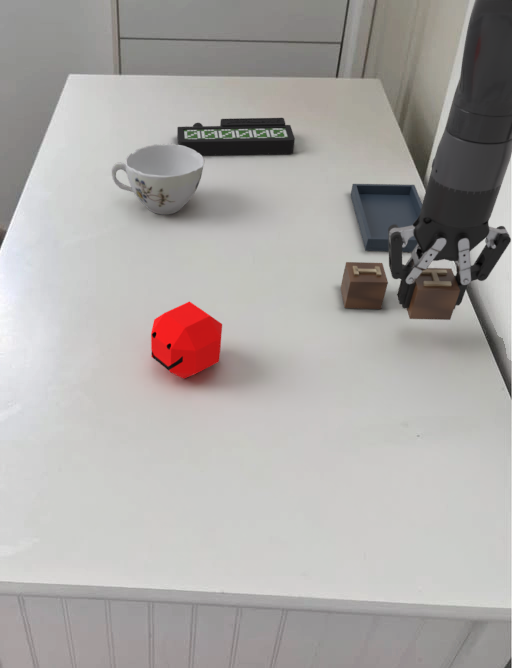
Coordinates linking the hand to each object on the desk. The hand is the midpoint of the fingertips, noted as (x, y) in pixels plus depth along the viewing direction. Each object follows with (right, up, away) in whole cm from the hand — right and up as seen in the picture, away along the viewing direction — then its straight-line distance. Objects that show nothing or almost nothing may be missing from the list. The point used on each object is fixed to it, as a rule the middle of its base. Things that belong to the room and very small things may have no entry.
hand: (427, 305), depth 91 cm
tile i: (-6, +3, +10) cm, 12 cm away
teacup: (-34, +23, +29) cm, 50 cm away
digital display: (-19, +41, +45) cm, 64 cm away
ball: (-31, -8, 0) cm, 31 cm away
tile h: (0, 0, 0) cm, 0 cm away
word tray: (+3, +19, +24) cm, 31 cm away
